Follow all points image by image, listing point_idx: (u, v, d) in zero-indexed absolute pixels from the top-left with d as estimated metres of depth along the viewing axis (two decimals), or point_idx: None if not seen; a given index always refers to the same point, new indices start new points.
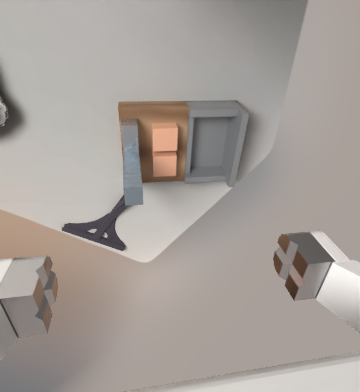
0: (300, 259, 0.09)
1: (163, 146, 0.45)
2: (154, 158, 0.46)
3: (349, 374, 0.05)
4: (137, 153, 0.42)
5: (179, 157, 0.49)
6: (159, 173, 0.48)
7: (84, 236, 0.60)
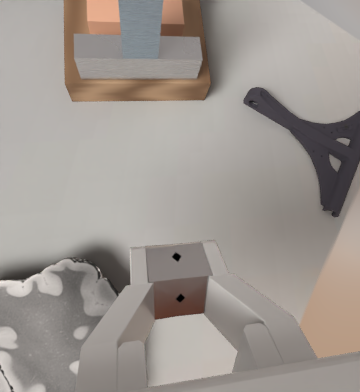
0: (179, 272, 0.08)
1: None
2: None
3: (349, 374, 0.05)
4: None
5: None
6: (177, 15, 0.27)
7: (349, 174, 0.30)
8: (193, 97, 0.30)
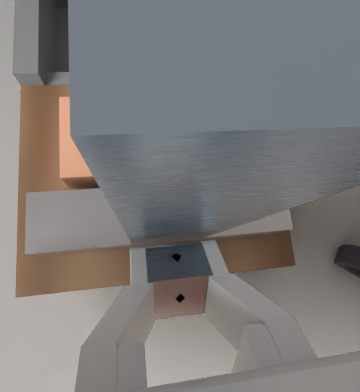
0: (179, 272, 0.08)
1: None
2: None
3: (349, 374, 0.05)
4: None
5: None
6: None
7: None
8: None
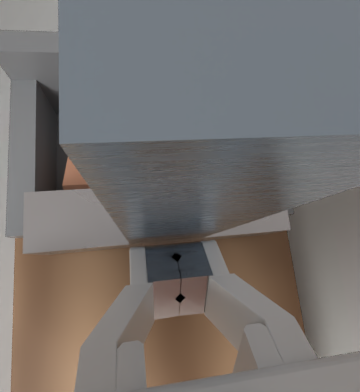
0: (179, 272, 0.08)
1: None
2: None
3: (349, 374, 0.05)
4: None
5: None
6: None
7: None
8: None
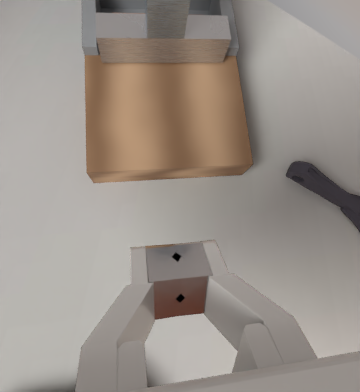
0: (179, 272, 0.08)
1: None
2: None
3: (349, 374, 0.05)
4: (145, 2, 0.21)
5: (184, 65, 0.25)
6: None
7: None
8: (230, 173, 0.26)
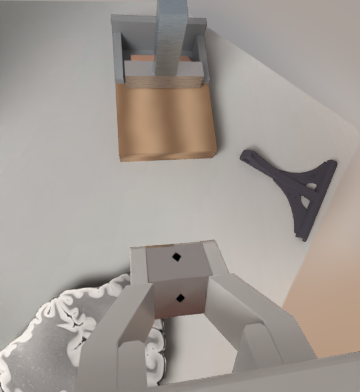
0: (179, 272, 0.08)
1: (152, 60, 0.41)
2: None
3: (348, 374, 0.05)
4: None
5: (176, 90, 0.41)
6: (187, 61, 0.42)
7: (314, 211, 0.42)
8: (204, 156, 0.42)
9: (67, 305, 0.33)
